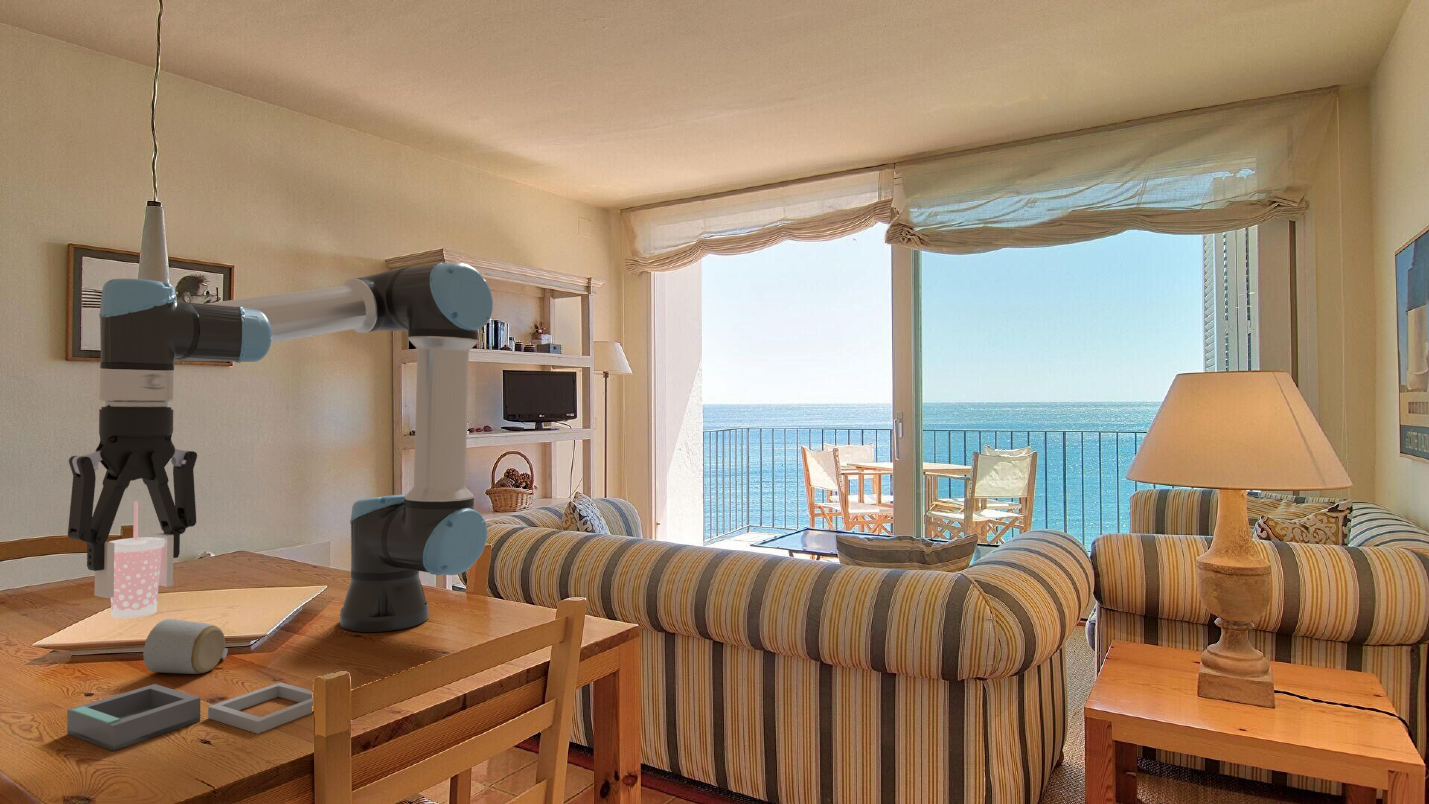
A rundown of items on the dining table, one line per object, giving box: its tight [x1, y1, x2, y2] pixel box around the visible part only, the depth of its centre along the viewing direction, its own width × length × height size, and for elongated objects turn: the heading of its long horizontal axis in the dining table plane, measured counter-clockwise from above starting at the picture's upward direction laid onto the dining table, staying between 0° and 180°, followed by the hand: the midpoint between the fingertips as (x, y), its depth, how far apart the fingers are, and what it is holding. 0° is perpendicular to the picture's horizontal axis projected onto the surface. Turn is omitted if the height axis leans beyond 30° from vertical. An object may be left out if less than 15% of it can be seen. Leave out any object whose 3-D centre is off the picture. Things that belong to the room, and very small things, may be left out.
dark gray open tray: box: [66, 683, 201, 752], centre depth 101 cm, size 10×10×3 cm
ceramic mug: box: [142, 618, 229, 675], centre depth 123 cm, size 11×8×8 cm
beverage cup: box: [108, 500, 165, 619], centre depth 101 cm, size 6×6×14 cm
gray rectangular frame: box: [207, 681, 313, 735], centre depth 107 cm, size 10×10×2 cm
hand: (134, 590), depth 101 cm, fingers closed on beverage cup, 6 cm apart
